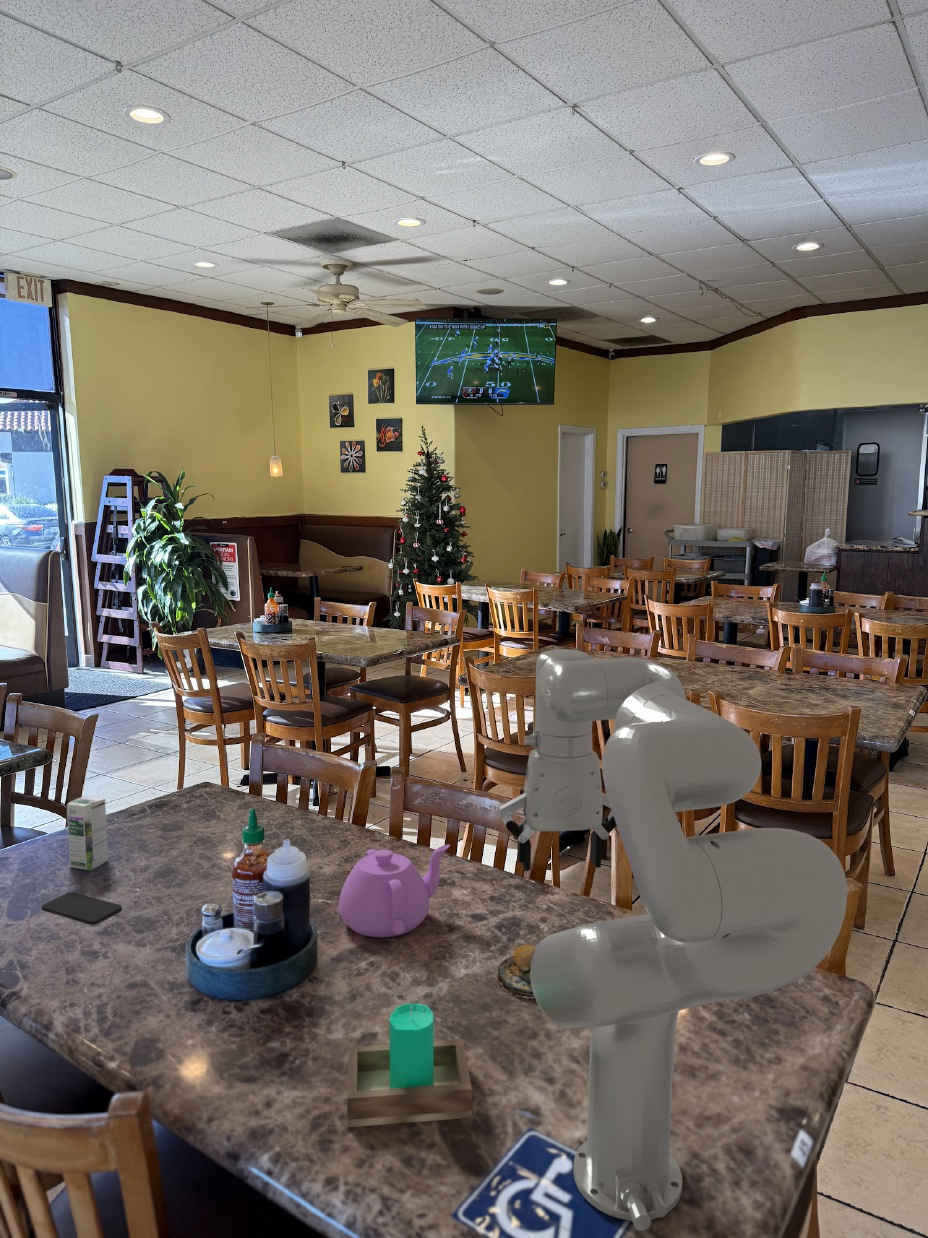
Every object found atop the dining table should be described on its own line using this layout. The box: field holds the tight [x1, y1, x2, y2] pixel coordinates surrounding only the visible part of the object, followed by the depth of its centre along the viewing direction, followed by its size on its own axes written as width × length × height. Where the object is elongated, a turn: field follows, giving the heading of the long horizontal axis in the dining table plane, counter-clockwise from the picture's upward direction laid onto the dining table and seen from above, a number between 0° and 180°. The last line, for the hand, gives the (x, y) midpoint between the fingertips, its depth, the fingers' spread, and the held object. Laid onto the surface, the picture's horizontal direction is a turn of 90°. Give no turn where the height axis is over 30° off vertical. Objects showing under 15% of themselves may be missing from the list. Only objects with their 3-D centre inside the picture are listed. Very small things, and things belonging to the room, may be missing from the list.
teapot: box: [338, 844, 451, 938], centre depth 162 cm, size 22×22×14 cm
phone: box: [41, 891, 123, 925], centre depth 167 cm, size 7×1×15 cm
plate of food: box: [496, 940, 536, 998], centre depth 142 cm, size 12×12×8 cm
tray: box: [346, 1038, 473, 1128], centre depth 115 cm, size 16×11×4 cm
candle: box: [389, 1003, 434, 1089], centre depth 114 cm, size 6×6×12 cm
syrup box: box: [66, 796, 109, 872], centre depth 186 cm, size 6×6×14 cm
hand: (560, 865), depth 116 cm, fingers open, 9 cm apart
